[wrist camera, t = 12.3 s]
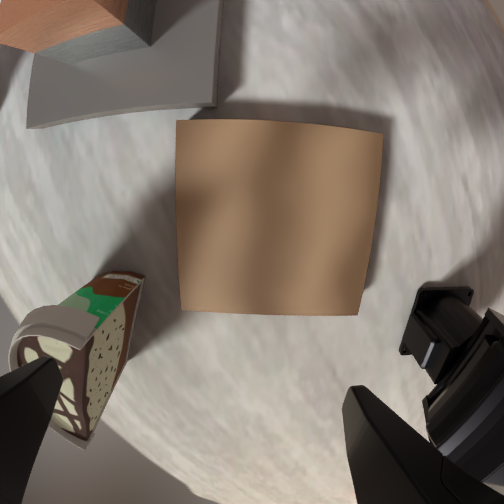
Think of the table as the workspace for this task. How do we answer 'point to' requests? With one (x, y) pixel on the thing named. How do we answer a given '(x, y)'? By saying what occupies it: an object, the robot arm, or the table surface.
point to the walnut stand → (274, 216)
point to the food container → (83, 348)
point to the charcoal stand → (136, 71)
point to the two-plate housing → (76, 27)
